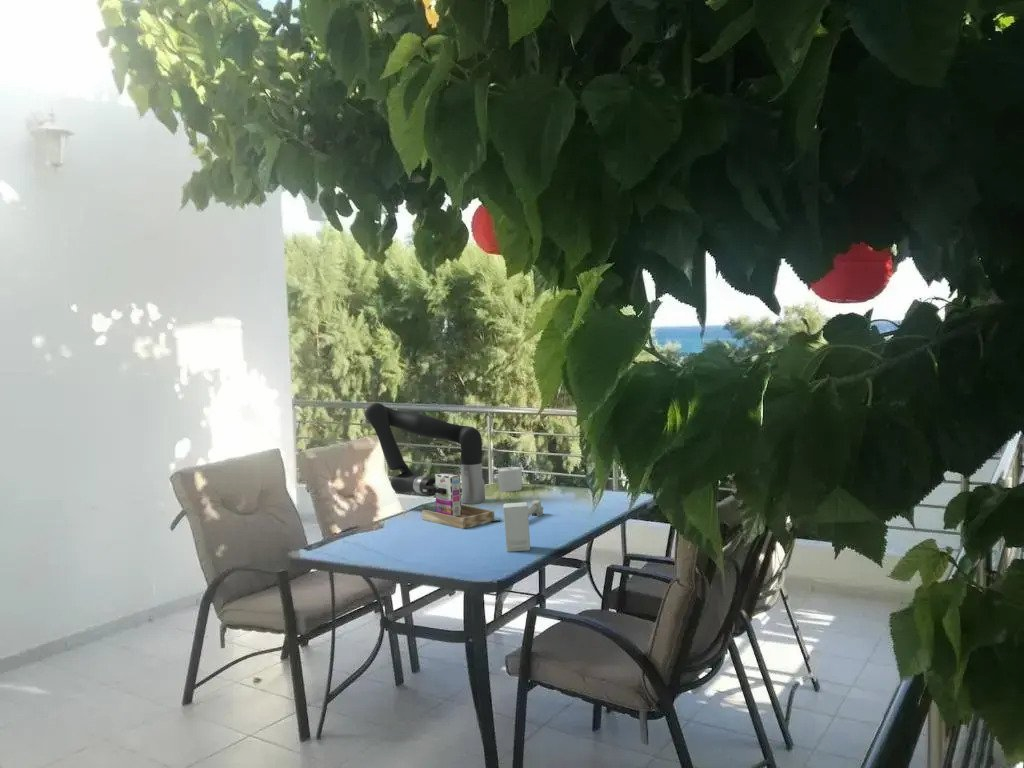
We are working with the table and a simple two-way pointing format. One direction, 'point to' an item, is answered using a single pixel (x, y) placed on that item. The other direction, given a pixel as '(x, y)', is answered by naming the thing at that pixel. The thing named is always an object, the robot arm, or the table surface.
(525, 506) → the skincare box
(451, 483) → the candy bar box
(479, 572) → the table surface
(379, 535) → the table surface
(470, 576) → the table surface
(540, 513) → the grey long piece
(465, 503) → the robot arm
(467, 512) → the tray
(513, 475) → the toilet tissue
